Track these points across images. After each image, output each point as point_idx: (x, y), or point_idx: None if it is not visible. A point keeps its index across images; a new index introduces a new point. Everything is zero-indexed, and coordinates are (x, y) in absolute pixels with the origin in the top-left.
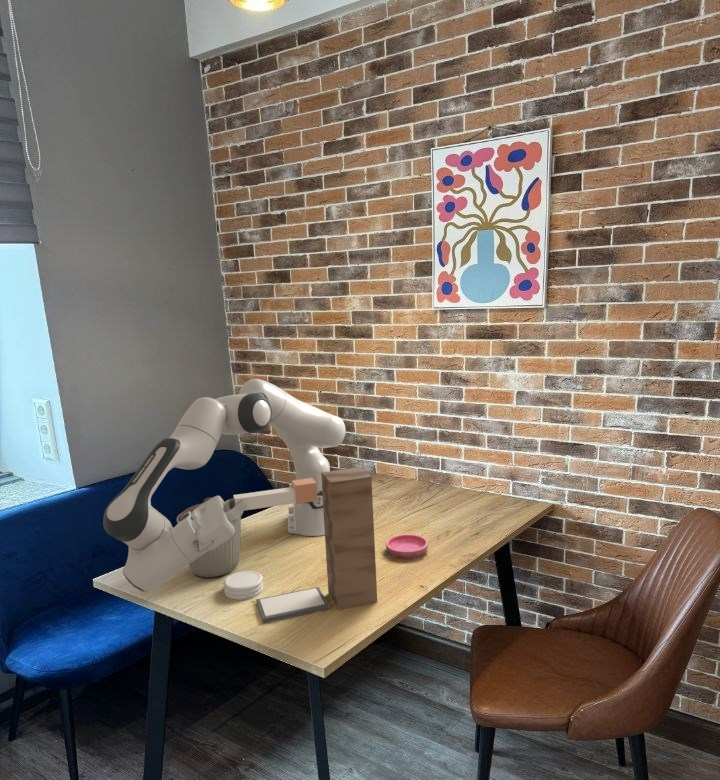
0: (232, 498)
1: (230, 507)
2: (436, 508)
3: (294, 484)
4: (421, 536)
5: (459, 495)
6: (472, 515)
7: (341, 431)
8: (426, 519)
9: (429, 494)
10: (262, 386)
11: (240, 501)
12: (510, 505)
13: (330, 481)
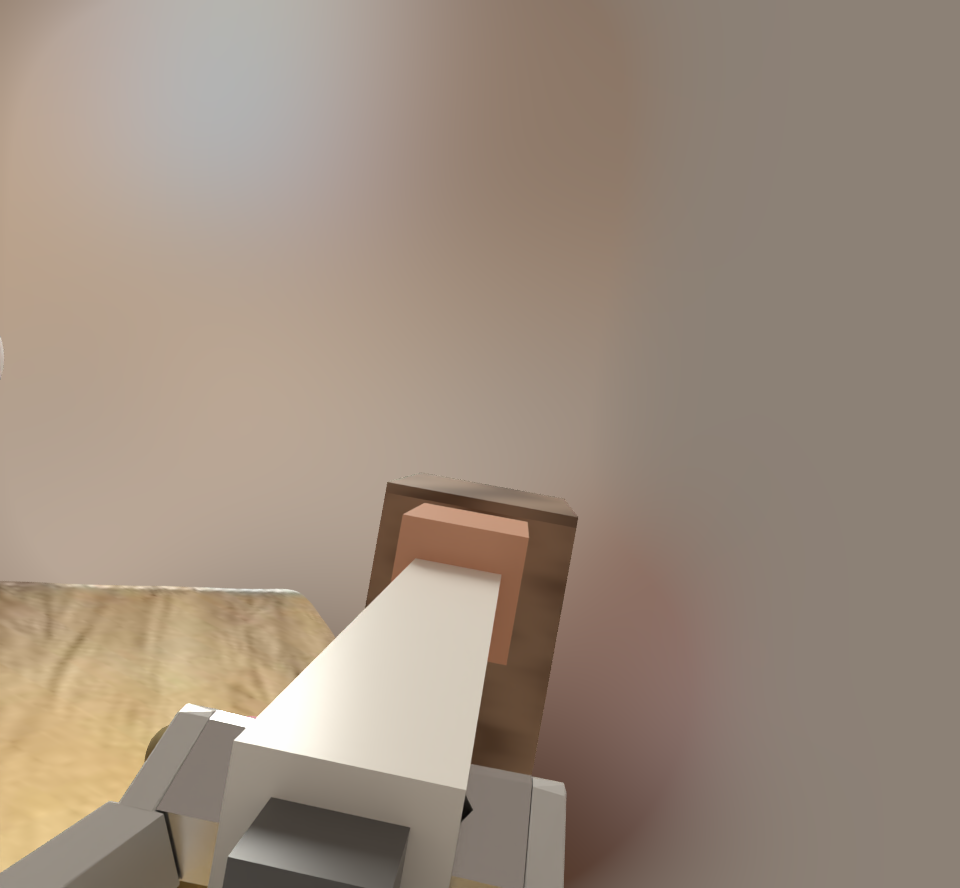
0: (89, 819)
1: None
2: (110, 641)
3: (487, 533)
4: (248, 716)
5: (114, 603)
6: (220, 639)
7: (2, 364)
8: (131, 673)
9: (31, 611)
10: None
11: (490, 796)
12: (251, 607)
13: (559, 513)
